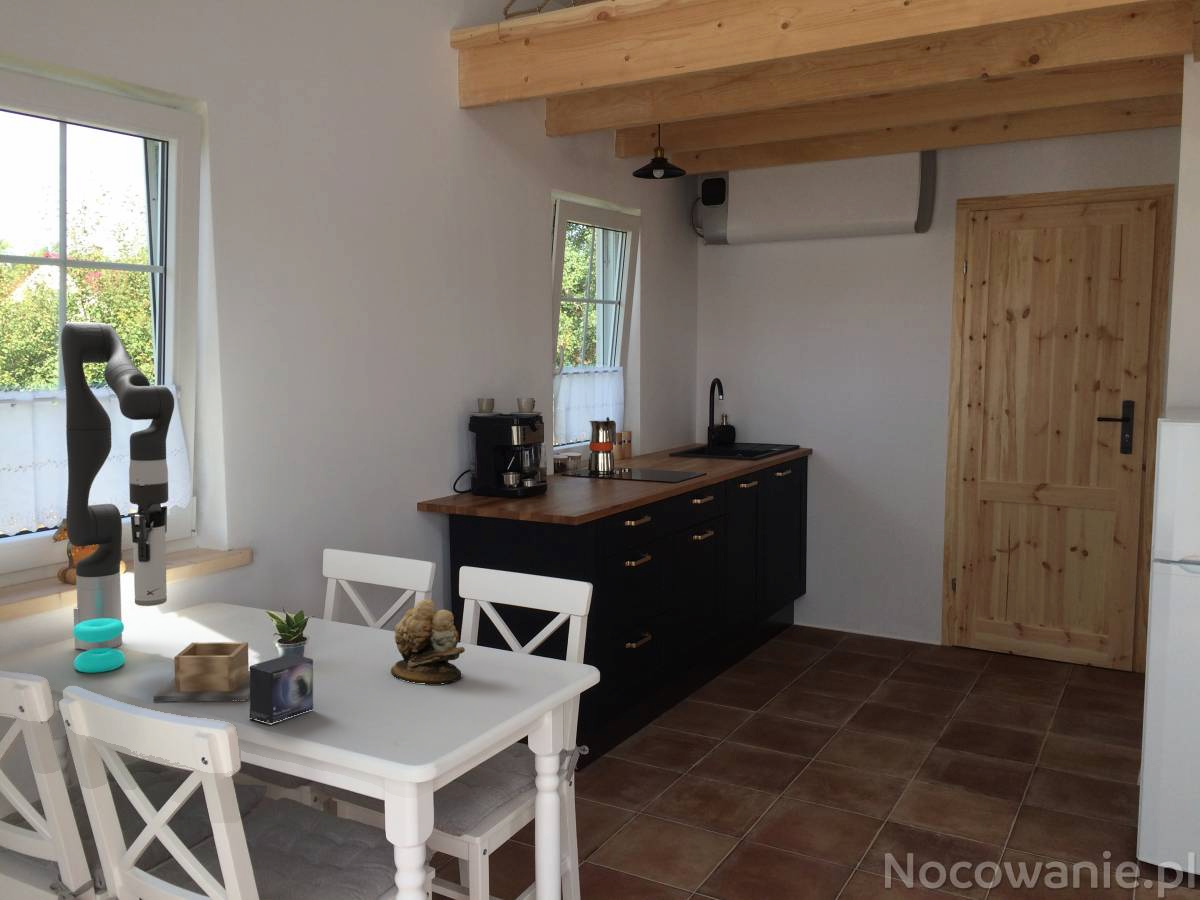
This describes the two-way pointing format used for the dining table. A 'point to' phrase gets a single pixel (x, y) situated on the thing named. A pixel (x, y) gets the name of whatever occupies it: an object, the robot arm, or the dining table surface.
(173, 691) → the box
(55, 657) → the dining table surface
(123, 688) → the dining table surface
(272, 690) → the small box
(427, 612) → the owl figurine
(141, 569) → the travel mug
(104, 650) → the donuts
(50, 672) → the dining table surface
